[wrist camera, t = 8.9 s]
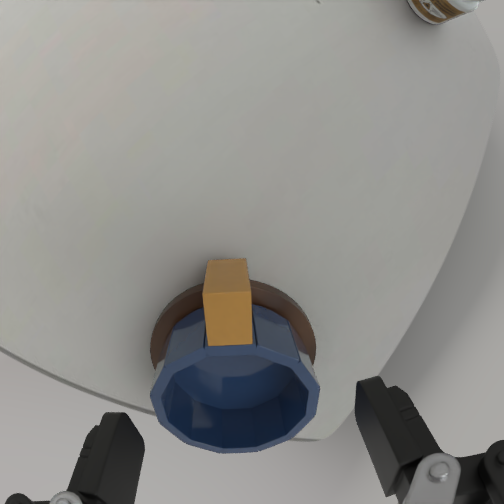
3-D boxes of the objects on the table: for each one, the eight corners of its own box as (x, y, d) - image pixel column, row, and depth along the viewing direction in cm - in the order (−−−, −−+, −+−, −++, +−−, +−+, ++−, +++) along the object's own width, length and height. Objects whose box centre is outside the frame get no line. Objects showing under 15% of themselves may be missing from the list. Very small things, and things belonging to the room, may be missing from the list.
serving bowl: (298, 403, 27) (309, 446, 22) (176, 408, 26) (169, 452, 21) (309, 252, 22) (333, 285, 17) (145, 260, 21) (122, 295, 16)
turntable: (341, 310, 25) (345, 317, 24) (271, 416, 29) (272, 424, 28) (180, 252, 23) (177, 257, 21) (139, 380, 26) (136, 388, 25)
